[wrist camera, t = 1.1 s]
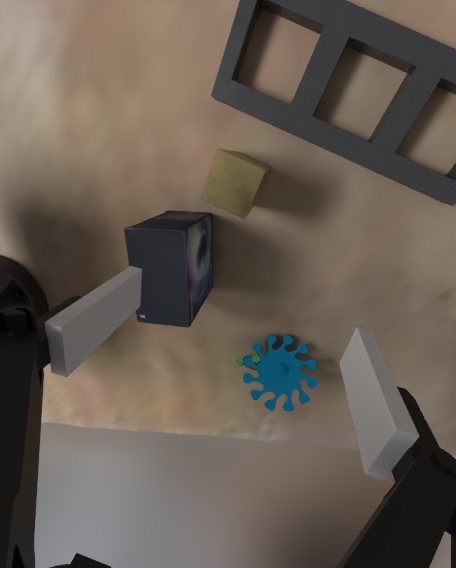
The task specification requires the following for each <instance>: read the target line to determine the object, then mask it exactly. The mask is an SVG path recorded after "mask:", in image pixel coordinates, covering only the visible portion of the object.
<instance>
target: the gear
mask: <svg viewBox="0 0 456 568" xmlns="http://www.w3.org/2000/svg"><path fill="white" fill-rule="evenodd" d="M267 341H268V344H269V349H268V353H267V354H266V355H262V354H261V348H262V346H261V343H260V342H257V343H254V344H253V345H252V348H253V350H254V351H256V352H257V353H258V355H259V356H258V355H254V356H253V357H252V356H250V355H247V356H245V357H244V358H243V359H242V358H240V357H238V358H237V359H236V364H237V365H239V366H242V365H243V364H244V365H245V366H246V367H248V368H251V369H254V370H256V371H258V373H259V376H258V377H257V378H253V377H252V376H251V375H250V374H249V373H244V382H245V383H250V382H254V381H256V382H260V383H262V384H263V385H264V389H263V390H262V391H259V390H256V389H254V390H252V391H251V396H252V398H253V399H254V400H257V399H259V397H260V396H261V395H262V394H263V393H265V392H270V391H271V392H273V393H274V395H275V397H274V399H272V400H268V401H267V402H266V403H265V406H266V407H267V408H268V409H269V410H271V411H273V410H274V409H275V403H276V400H277V399H278V397H279V396H280V395H281V394H286V395H287V397H288V399H287V401H286V402H285V403H284V405H283V409H284V410H285V411H293V410H294V407H293V404H292V401H291V395H292V391H293V390H294V389H298V390H299V392H300V395H299V401H300V403H301V404H304V403H306V402H308V401H310V398H309V396H308V395H307V394H306V393H305V392H304V391H303V390H302V388H301V385H300V379H301V378H305V379H306V380H307V383H308V386H309V387H310V388H312V389H314V388H315V387H316V385H317V383H318V380H317V379H316V378H311V377H308V376H307V375H305V374H304V373H303V372H302V371H301V366H302V365H306V366H307V367H308V368H309V369H310V370H315V369H316V360H313V359H312V360H309V361H300V360H297V359H296V358H295V354H296V353H300V354H306V353H307V352H308V349H307V347H306V346H305V344H301V345H300V346H299V347H298V348H297V349H296V350H294V351H291V352H287V351H285V349H284V347H285V346H286V345H290V344H292V342H293V338H292V337H290V336H288V335H285V337H284V341H283V344H282V346H281V347H280V348H279V349H278V350H274V349H272V345H273V344H274V343H275V342H276V336H274V335H268V336H267Z"/></svg>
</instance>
